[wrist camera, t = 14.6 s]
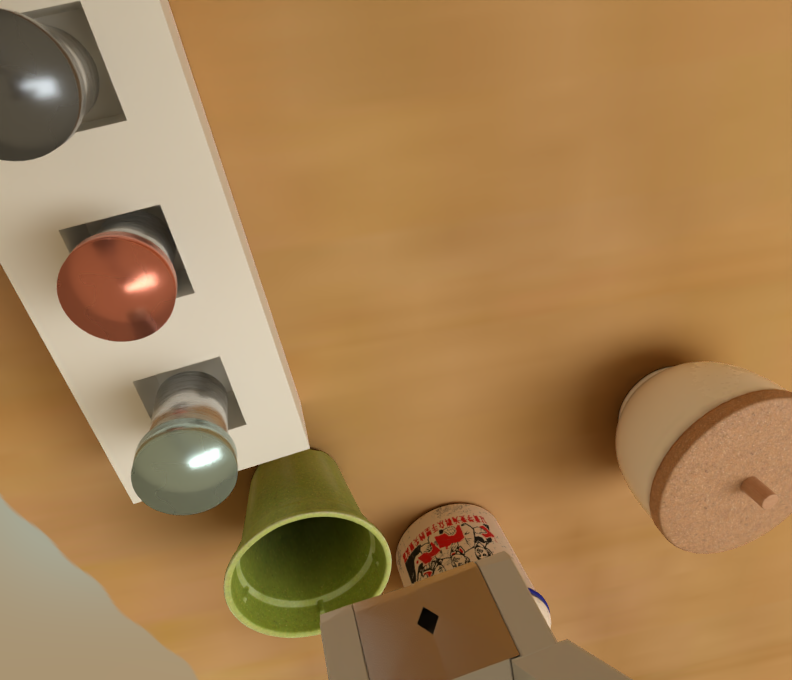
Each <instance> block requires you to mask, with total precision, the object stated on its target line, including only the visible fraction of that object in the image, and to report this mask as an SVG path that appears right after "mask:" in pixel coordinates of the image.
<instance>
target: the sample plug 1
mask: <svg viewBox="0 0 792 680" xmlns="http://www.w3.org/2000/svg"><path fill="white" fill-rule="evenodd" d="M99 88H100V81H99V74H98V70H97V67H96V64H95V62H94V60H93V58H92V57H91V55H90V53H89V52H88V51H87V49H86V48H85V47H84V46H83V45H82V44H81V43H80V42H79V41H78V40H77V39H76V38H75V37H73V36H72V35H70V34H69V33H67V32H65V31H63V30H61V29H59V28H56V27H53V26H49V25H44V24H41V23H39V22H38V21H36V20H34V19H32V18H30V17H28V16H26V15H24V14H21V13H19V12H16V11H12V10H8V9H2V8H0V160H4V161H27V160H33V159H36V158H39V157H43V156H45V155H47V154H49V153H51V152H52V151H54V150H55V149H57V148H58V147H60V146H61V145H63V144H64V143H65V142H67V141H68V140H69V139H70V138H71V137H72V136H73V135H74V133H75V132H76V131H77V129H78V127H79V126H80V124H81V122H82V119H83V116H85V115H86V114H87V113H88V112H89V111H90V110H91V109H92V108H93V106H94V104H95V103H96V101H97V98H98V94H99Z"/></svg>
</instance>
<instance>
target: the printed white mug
mask: <svg viewBox="0 0 792 680" xmlns="http://www.w3.org/2000/svg"><path fill="white" fill-rule="evenodd" d="M502 551H505V552H506V553H508V554H509V555H510V556H511V558H512V560H513V562H514V563H515V565H516V567H517V569H518V571H519V573H520V574H521V576H522V578H523V580H524V582H525V584H526V585H527V587H528V589H529V591H530V593H531V594H532V596H533V598H534V600H535V602H536V604H537V605H538V607H539V609H540V611H541V613H542V615H543V616H544V618H545V620H546V622H547V624H548V625H549V627H550V628H551V617H550V611H549V607H548V605H547V603H546V601H545V599H544V598H543V597H542V596H541V595H540V594H539V593H538V592H536V590H535V588H534V587H533V585H532V583H531V581H530V579H529V578H528V576H527V574H526V572H525V570H524V569H523V567H522V565H521V563H520V561H519V560H518V558H517V556H516V554H515V553H514V551H513V549H512V547H511V545H510V544H509V542H508V540H507V538H506V536H505V535H504V533H503V531H502V529H501V527H500V526H499V524H498V522H497V520H496V519H495V518H494V516H493V515H492V514H491V513H490V512H488V511H487V510H485V509H483V508H481V507H479V506H476V505H471V504H451V505H446V506H442V507H439V508H437V509H434V510H432V511H430V512H428V513H426V514H424V515H423V516H421V517H420V518H419V519H417V520H416V521H415V522H414V523H413V524H412V525H411V526H410V527H409V528H408V529H407V530H406V532H405V533H404V534H403V536H402V538H401V540H400V542H399V544H398V547H397V552H396V563H397V567H398V571H399V574H400V577H401V580H402V583H403V586H404V587H407V586H410V585H413V584H414V582H417V581H420V580H423V579H425V578H428V577H431V576H434V575H436V574H439V573H442V572H444V571H447V570H450V569H453V568H455V567H458V566H461V565H464V564H466V563H469V562H472V561H473V562H475V561H477V560H480V559H483V558H486V557H489V556H491V555H494V554H497V553H500V552H502Z"/></svg>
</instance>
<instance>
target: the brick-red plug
mask: <svg viewBox="0 0 792 680" xmlns="http://www.w3.org/2000/svg"><path fill="white" fill-rule="evenodd" d="M175 253H176V244H175V241H174V239H173V236H172V234H171V231H170V229H169V227H168V226H167V225H166V224H165V223H164V222H163V221H162V220H161V219H159V218H158V217H156V216H154V215H153V214H150V213H148V212H145V211H140V210H136V211H132V212H128V213H124V214H120V215H116V216H112V217H109V218H107V219H106V220H105V221H104V223H103V224H102V225H101V227H100V228H99V230H98V232H97V233H96V234H95V235H93V236H90V237H88V238H86V239H85V240H83V241H82V242H80V243H79V244H78V245H77V246H76V247H75V248H74V249H73V250H72V252H71V253H70V254H69V256H68V257H67V259H66V260H65V262H64V263H63V265H62V267H61V269H60V271H59V274H58V278H57V295H58V299H59V302H60V304H61V307H62V309H63V310H64V312H65V314H66V315H67V316H68V317H69V319H70V320H71V321H72V322H73V323H74V324H75V325H76V326H78V327H79V328H80V329H82V330H83V331H85V332H87V333H88V334H90V335H93V336H95V337H98V338H101V339H104V340H109V341H116V342H127V341H134V340H139V339H142V338H145V337H147V336H149V335H151V334H153V333H155V332H156V331H158V330H159V329H160V328H161V327H162V326H163V325H164V324H165V323H166V322H167V321H168V319H169V317H170V316H171V314H172V311H173V309H174V305H175V300H176V295H177V288H178V283H177V275H176V272H175V269H174V267H173V263H174V258H175Z"/></svg>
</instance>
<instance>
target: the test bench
mask: <svg viewBox="0 0 792 680" xmlns="http://www.w3.org/2000/svg"><path fill="white" fill-rule="evenodd" d="M0 8H2V9H8V10H12V11H16V12H19V13H21V14H24V15H26V16H28V17H30V18H32V19H34V20H36V21H38V22H39V23H41V24H44V25H49V26H53V27H56V28H59V29H61V30H63V31H65V32H67V33H69V34H70V35H72V36H73V37H75V38H76V39H77V40H78V41H79V42H80V43H81V44H82V45H83V46H84V47H85V48H86V49H87V51H88V52H89V53H90V55H91V57H92V58H93V60H94V62H95V64H96V67H97V70H98V74H99V81H100V88H99V94H98V98H97V101H96V103H95V104H94V106H93V108H92V109H91V110H90V111H89V112H88V113H87V114H86V115H85V116H83V119H82V122H81V124H80V126H79V127H78V129H77V131H76V132H75V133H74V135H73V136H72V137H71V138H70V139H69V140H68V141H67V142H65V143H64V144H63V145H61V146H60V147H58V148H57V149H55V150H54V151H52V152H51V153H49V154H47V155H45V156H43V157H39V158H36V159H33V160H27V161H4V160H0V264H1V265H2V267H3V269H4V271H5V273H6V275H7V276H8V278H9V280H10V282H11V284H12V285H13V287H14V289H15V291H16V293H17V294H18V296H19V298H20V300H21V302H22V303H23V305H24V307H25V309H26V311H27V312H28V314H29V316H30V318H31V320H32V321H33V323H34V325H35V327H36V329H37V330H38V332H39V334H40V336H41V338H42V340H43V341H44V343H45V345H46V347H47V349H48V350H49V352H50V354H51V356H52V358H53V359H54V361H55V363H56V365H57V367H58V368H59V370H60V372H61V374H62V376H63V377H64V379H65V381H66V383H67V385H68V386H69V388H70V390H71V392H72V394H73V396H74V397H75V399H76V401H77V403H78V405H79V406H80V408H81V410H82V412H83V414H84V415H85V417H86V419H87V421H88V423H89V424H90V426H91V428H92V430H93V432H94V433H95V435H96V437H97V439H98V441H99V442H100V444H101V446H102V448H103V450H104V452H105V453H106V455H107V457H108V459H109V461H110V462H111V464H112V466H113V468H114V470H115V471H116V473H117V475H118V477H119V479H120V480H121V482H122V484H123V486H124V488H125V489H126V491H127V493H128V495H129V497H130V498H131V500H132V502H133V504H135V503H138V502H141V501H142V500H141V499H140V498H139V497H138V496H137V494H136V493H135V491H134V489H133V486H132V482H131V470H132V465H133V460H134V456H135V452H136V448H137V446H138V444H139V442H140V441H141V439H142V438H143V437H144V436H145V434H146V433H148V432H149V429H150V424H151V419H152V413H153V408H154V403H155V398H156V393H157V391H158V389H159V387H160V385H161V384H162V383H163V382H164V381H165V380H166V379H167V378H169V377H170V376H172V375H174V374H177V373H180V372H184V371H200V372H204V373H207V374H210V375H212V376H213V377H215V378H216V379H218V380H219V381H220V382H221V383H222V385H223V386H224V388H225V390H226V392H227V396H228V434H229V435H230V437H231V438H232V439H233V441H234V443H235V446H236V449H237V463H238V471H240V470H243V469H246V468H250V467H253V466H256V465H259V464H262V463H265V462H269V461H272V460H275V459H278V458H281V457H285V456H288V455H291V454H294V453H297V452H300V451H304V450H307V449H310V446H309V441H308V436H307V432H306V427H305V422H304V417H303V412H302V407H301V402H300V399H299V396H298V393H297V390H296V387H295V384H294V381H293V378H292V375H291V372H290V369H289V366H288V363H287V360H286V357H285V354H284V351H283V348H282V345H281V342H280V339H279V336H278V333H277V329H276V326H275V323H274V320H273V317H272V314H271V311H270V308H269V305H268V302H267V299H266V296H265V293H264V290H263V287H262V284H261V281H260V278H259V275H258V272H257V269H256V266H255V263H254V260H253V257H252V254H251V251H250V248H249V245H248V242H247V239H246V236H245V233H244V230H243V226H242V223H241V220H240V217H239V214H238V211H237V208H236V205H235V202H234V199H233V196H232V193H231V190H230V187H229V184H228V181H227V178H226V175H225V172H224V169H223V166H222V163H221V160H220V157H219V154H218V151H217V148H216V145H215V142H214V139H213V136H212V133H211V130H210V126H209V123H208V120H207V117H206V114H205V111H204V108H203V105H202V102H201V99H200V96H199V93H198V90H197V87H196V84H195V81H194V78H193V75H192V72H191V69H190V66H189V63H188V60H187V57H186V54H185V51H184V48H183V45H182V42H181V39H180V36H179V33H178V30H177V27H176V23H175V20H174V17H173V14H172V11H171V8H170V5H169V2H168V0H0ZM136 210H140V211H145V212H148V213H150V214H153V215H154V216H156V217H158V218H159V219H161V220H162V221H163V222H164V223H165V224H166V225H167V226H168V227H169V229H170V231H171V234H172V236H173V239H174V241H175V244H176V253H175V258H174V263H173V267H174V269H175V272H176V275H177V283H178V288H177V295H176V300H175V305H174V309H173V311H172V314H171V316H170V317H169V319H168V321H167V322H166V323H165V324H164V325H163V326H162V327H161V328H160V329H159V330H158V331H156V332H155V333H153V334H151V335H149V336H147V337H145V338H142V339H139V340H134V341H127V342H116V341H109V340H104V339H101V338H98V337H95V336H93V335H90V334H88V333H87V332H85V331H83V330H82V329H80V328H79V327H78V326H76V325H75V324H74V323H73V322H72V321H71V320H70V319H69V317H68V316H67V315H66V314H65V312H64V310H63V309H62V307H61V304H60V302H59V299H58V295H57V278H58V274H59V271H60V269H61V267H62V265H63V263H64V262H65V260H66V259H67V257H68V256H69V254H70V253H71V252H72V250H73V249H74V248H75V247H76V246H77V245H78V244H79V243H80V242H82V241H83V240H85V239H86V238H88V237H90V236H93V235H95V234H96V233H97V232H98V230H99V228H100V227H101V225H102V224H103V223H104V221H105V220H106V219H107V218H109V217H112V216H116V215H120V214H124V213H128V212H132V211H136Z"/></svg>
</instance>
